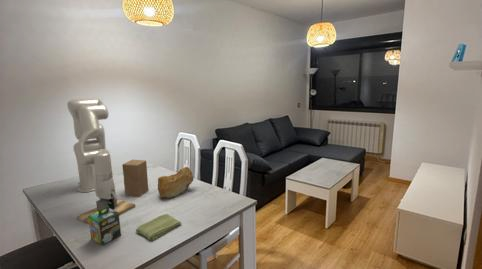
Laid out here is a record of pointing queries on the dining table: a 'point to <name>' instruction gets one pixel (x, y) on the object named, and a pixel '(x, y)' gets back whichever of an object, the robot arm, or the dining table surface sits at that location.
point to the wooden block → (135, 177)
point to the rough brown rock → (175, 183)
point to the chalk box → (104, 225)
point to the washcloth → (158, 226)
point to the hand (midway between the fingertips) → (107, 208)
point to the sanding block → (104, 204)
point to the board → (121, 208)
